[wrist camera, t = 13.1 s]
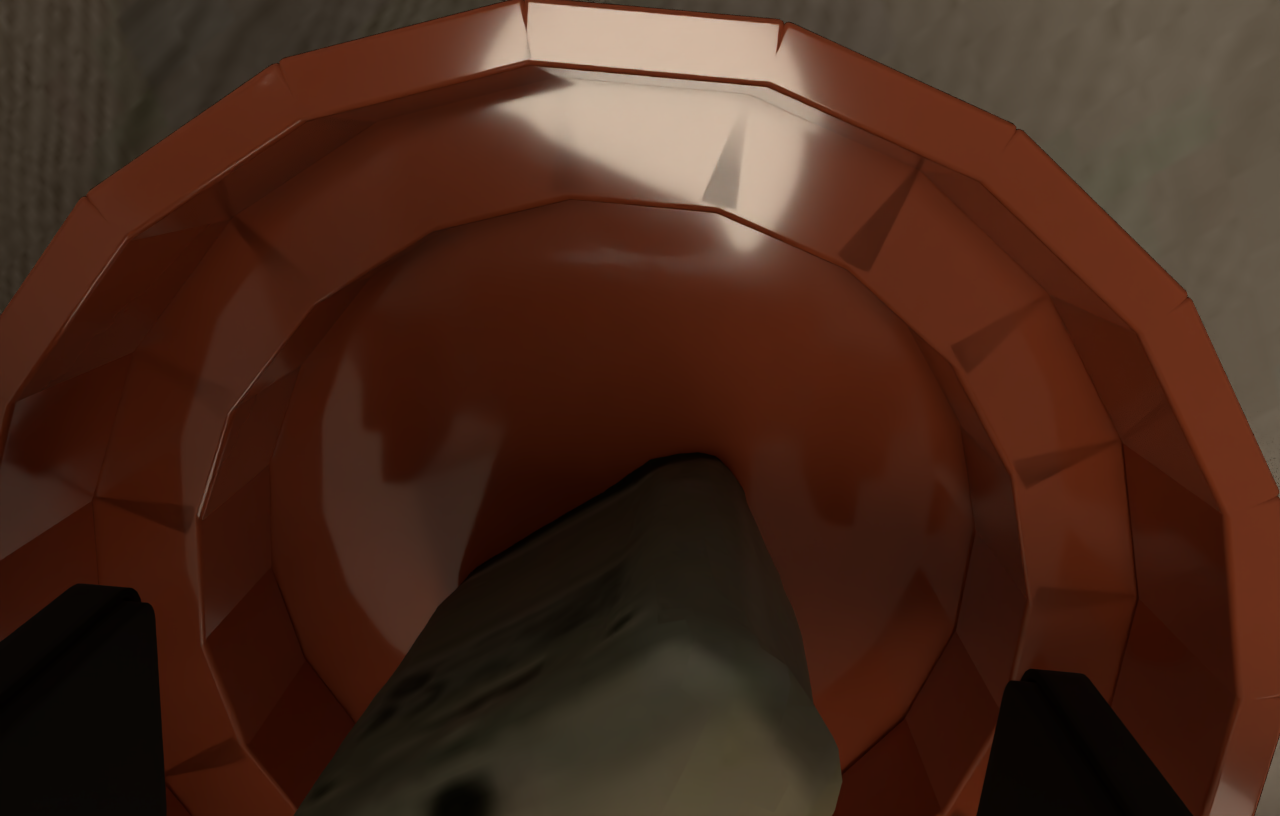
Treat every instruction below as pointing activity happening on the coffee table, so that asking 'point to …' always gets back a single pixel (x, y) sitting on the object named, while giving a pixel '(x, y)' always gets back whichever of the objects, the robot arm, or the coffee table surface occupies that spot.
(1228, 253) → the coffee table surface
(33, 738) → the robot arm
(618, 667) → the cream rounded block
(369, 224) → the bowl
